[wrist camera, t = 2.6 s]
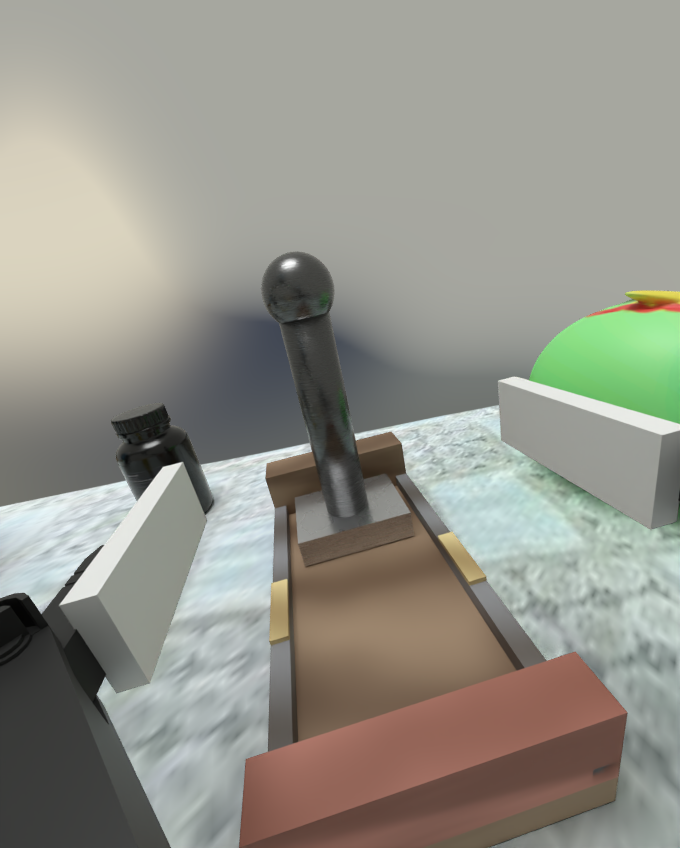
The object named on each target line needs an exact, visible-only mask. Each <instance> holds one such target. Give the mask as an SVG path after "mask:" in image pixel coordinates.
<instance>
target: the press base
mask: <svg viewBox="0 0 680 848" xmlns="http://www.w3.org/2000/svg"><path fill="white" fill-rule="evenodd" d="M356 445H357V450H358V455H359V460H360V465H361V470H362V474H363V479H367V478H371V477H374V476H378V475H382V474H387V476H388V477H389V479H390V480H391V482H392V484H393V485H394V487H395V488H396V490H397V492H398V493H399V495H400V496H401V498H402V499H403V501H404V503H405V504H406V506H407V507H408V509H409V511H410V512H411V518H412V524H413V531H414V536H411V537H408V538H404V539H401V540H397V541H394V542H390V543H387V544H383V545H380V546H376V547H373V548H369V549H366V550H362V551H359V552H355V553H351V554H348V555H344V556H341V557H337V558H334V559H330V560H327V561H323V562H320V563H316V564H313V565H309V566H306V567H305V565H304V562H303V558H302V555H301V552H300V548H299V545H298V536H297V522H296V508H295V497H299V496H303V495H307V494H310V493H314V492H318V491H322V488H321V484H320V481H319V477H318V473H317V469H316V465H315V461H314V457H313V453H312V452H310V453H306V454H302V455H298V456H294V457H290V458H286V459H282V460H278V461H274V462H271V463H267V467H266V478H265V479H266V482H267V485H268V488H269V491H270V494H271V498H272V501H273V504H274V507H275V524H274V558H273V583H271V609H270V639H269V642H270V644H271V662H270V697H269V732H268V752H266V753H263V754H260V755H257V756H254V757H251V758H248V759H246V764H245V777H244V790H243V803H242V816H241V829H240V842H239V848H488V847H491V846H493V845H496V844H499V843H501V842H504V841H507V840H509V839H512V838H515V837H518V836H520V835H523V834H526V833H528V832H531V831H534V830H537V829H539V828H542V827H545V826H547V825H550V824H553V823H556V822H558V821H561V820H564V819H566V818H569V817H572V816H574V815H577V814H580V813H583V812H585V811H588V810H591V809H593V808H596V807H599V806H602V805H604V804H607V803H610V802H612V801H615V797H616V790H617V783H618V776H619V769H620V762H621V754H622V747H623V740H624V733H625V726H626V719H627V712H626V710H625V709H624V708H623V707H622V706H621V705H620V703H619V702H618V701H617V700H616V699H615V697H614V696H613V695H612V694H611V693H610V692H609V690H608V689H607V688H606V687H605V686H604V685H603V683H602V682H601V681H600V680H599V679H598V678H597V676H596V675H595V674H594V673H593V672H592V671H591V669H590V668H589V667H588V666H587V665H586V663H585V662H584V661H583V660H582V659H581V658H580V656H579V655H578V654H577V653H576V652H573V653H570V654H567V655H564V656H560V657H557V658H554V659H551V660H548V661H546V659H545V658H544V657H543V655H542V654H541V653H540V651H539V650H538V649H537V647H536V646H535V645H534V643H533V642H532V641H531V639H530V638H529V637H528V635H527V634H526V633H525V631H524V630H523V629H522V627H521V626H520V625H519V623H518V622H517V621H516V619H515V618H514V617H513V615H512V614H511V613H510V611H509V610H508V609H507V607H506V606H505V605H504V603H503V602H502V601H501V599H500V598H499V597H498V595H497V594H496V593H495V591H494V590H493V589H492V587H491V586H490V585H489V583H488V582H487V581H486V576H485V574H484V573H483V572H482V570H481V569H480V568H479V566H478V565H477V564H476V562H475V561H474V560H473V558H472V557H471V556H470V555H469V553H468V552H467V551H466V549H465V548H464V547H463V545H462V544H461V543H460V541H459V540H458V539H457V537H456V536H455V535H454V533H453V532H450V531H449V530H448V529H447V527H446V526H445V525H444V523H443V522H442V521H441V519H440V518H439V517H438V515H437V514H436V513H435V511H434V510H433V509H432V507H431V506H430V505H429V503H428V502H427V501H426V499H425V498H424V497H423V495H422V494H421V493H420V491H419V490H418V489H417V487H416V486H415V485H414V483H413V482H412V481H411V479H410V478H409V477H408V475H407V474H406V470H405V463H404V457H403V450H402V444H401V442H400V441H399V440H398V439H397V438H396V437H395V435H394V434H393V433H392V432H388V433H384V434H380V435H376V436H372V437H368V438H364V439H360V440H357V441H356Z"/></svg>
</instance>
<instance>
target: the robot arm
mask: <svg viewBox="0 0 680 848" xmlns="http://www.w3.org/2000/svg"><path fill="white" fill-rule="evenodd" d="M498 390H499V408H500V426H501V441H503V442H505V443H507V444H508V445H510V446H512V447H513V448H515V449H517V450H518V451H520V452H522V453H523V454H525V455H527V456H528V457H530V458H532V459H533V460H535V461H537V462H538V463H540V464H542V465H543V466H545V467H547V468H548V469H550V470H552V471H553V472H555V473H557V474H558V475H560V476H562V477H563V478H565V479H567V480H568V481H570V482H572V483H573V484H575V485H577V486H578V487H580V488H582V489H583V490H585V491H587V492H588V493H590V494H592V495H594V496H595V497H597V498H599V499H600V500H602V501H604V502H605V503H607V504H609V505H610V506H612V507H614V508H615V509H617V510H619V511H620V512H622V513H624V514H625V515H627V516H629V517H630V518H632V519H634V520H635V521H637V522H639V523H640V524H642V525H644V526H645V527H647V528H649V529H650V530H651V529H655V528H658V527H661V526H665V525H668V524H671V523H674V522H676V521H677V515H678V508H679V501H680V424H678V423H674V422H671V421H667V420H664V419H660V418H657V417H654V416H650V415H647V414H643V413H640V412H636V411H633V410H629V409H626V408H622V407H619V406H615V405H612V404H609V403H605V402H602V401H598V400H595V399H591V398H588V397H584V396H581V395H577V394H574V393H570V392H567V391H564V390H560V389H557V388H553V387H550V386H546V385H543V384H539V383H536V382H532V381H529V380H525V379H522V378H518V377H511V378H507V379H503V380H500V381H498ZM206 522H207V519H206V517H205V514H204V512H203V509H202V507H201V505H200V502H199V500H198V497H197V495H196V492H195V490H194V488H193V485H192V483H191V480H190V478H189V475H188V473H187V471H186V468H185V466H184V463H183V462H180V463H177V464H173V465H169V466H165V467H163V468H162V469H161V470H160V472H159V473H158V474H157V476H156V477H155V478H154V480H153V481H152V482H151V484H150V485H149V486H148V488H147V489H146V490H145V492H144V493H143V494H142V496H141V497H140V498H139V500H138V501H137V502H136V504H135V505H134V506H133V508H132V509H131V510H130V512H129V513H128V514H127V516H126V517H125V518H124V520H123V521H122V522H121V524H120V525H119V526H118V528H117V529H116V530H115V532H114V533H113V534H112V536H111V537H110V538H109V540H108V541H107V542H106V544H105V545H101V546H100V547H99V548H98V549H96V550H95V551H94V552H93V553H92V554H91V555H89V556H88V557H87V558H86V559H85V560H84V561H83V562H82V564H81V565H80V566H79V567H78V569H77V570H76V571H75V572H74V575H73V576H71V578H70V579H69V580H68V581H67V583H66V584H65V587H63V588H62V589H61V590H60V591H59V593H58V594H57V595H56V597H55V598H54V599H53V600H52V602H51V603H50V604H49V605H48V607H47V608H46V609H45V611H44V612H43V613H42V614H41V613H40V612H39V610H38V609H37V607H36V606H35V604H34V603H33V602H32V600H31V599H30V597H29V596H28V595H26V594H25V593H16V594H11V595H8V596H6V597H3V598H0V848H171V847H170V845H169V843H168V840H167V838H166V836H165V834H164V832H163V830H162V828H161V826H160V824H159V821H158V819H157V817H156V815H155V813H154V811H153V809H152V807H151V804H150V802H149V800H148V798H147V796H146V794H145V792H144V790H143V788H142V785H141V783H140V781H139V779H138V777H137V775H136V773H135V771H134V769H133V766H132V764H131V762H130V760H129V758H128V756H127V754H126V752H125V749H124V747H123V745H122V743H121V741H120V739H119V737H118V735H117V733H116V730H115V728H114V726H113V724H112V722H111V720H110V718H109V716H108V713H107V711H106V709H105V707H104V705H103V703H102V702H101V700H100V699H99V697H98V696H97V695H96V694H97V692H98V690H99V688H100V686H101V684H102V682H103V680H104V678H105V677H106V678H107V680H108V681H109V683H110V684H111V686H112V687H113V689H114V690H115V692H116V693H119V692H122V691H126V690H129V689H132V688H135V687H139V686H142V685H145V684H149V683H150V681H151V678H152V675H153V672H154V670H155V667H156V664H157V661H158V658H159V655H160V653H161V650H162V647H163V644H164V641H165V638H166V636H167V633H168V630H169V627H170V624H171V621H172V619H173V616H174V613H175V610H176V607H177V604H178V601H179V599H180V596H181V593H182V590H183V587H184V584H185V582H186V579H187V576H188V573H189V570H190V567H191V565H192V562H193V559H194V556H195V553H196V550H197V548H198V545H199V542H200V539H201V536H202V533H203V531H204V528H205V525H206Z"/></svg>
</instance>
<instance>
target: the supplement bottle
mask: <svg viewBox="0 0 680 848" xmlns="http://www.w3.org/2000/svg"><path fill="white" fill-rule="evenodd" d="M170 421H171V418H170V416H169V415H168V413H167V411H166V409H165V406H164V404H163V403H154V404H149V405H145V406H141V407H138V408H135V409H132V410H129V411H127V412H124V413H122V414H119V415H118V416H116V417H114V418H113V419H112V420H111V423H112V425H113V427H114V429H115V431H116V435H117V437H118V438H119V439H122V441H123V443H122V444H121V445H120V446H119V448H118V449H117V452H116V460H117V463H118V465H119V467H120V469H121V471H122V473H123V475H124V477H125V479H126V481H127V483H128V485H129V487H130V489H131V491H132V493H133V495H134V497H135V499H136V501H138V500H139V498H140V497H141V496H142V494H143V493H144V492H145V490H146V489H147V488H148V486H149V485H150V484H151V482H152V481H153V480H154V478H155V477H156V476H157V474H158V473H159V472H160V470H161V469H162V468H163V467H165V466H169V465H173V464H177V463H180V462H183V463H184V466H185V468H186V471H187V473H188V475H189V478H190V480H191V483H192V485H193V488H194V490H195V492H196V495H197V497H198V500H199V502H200V505H201V507H202V509H203V512H204V513H205V512H206V511H207V510H208V509H209V507H210V506H211V504H212V500H213V496H212V493H211V490H210V488H209V485H208V482H207V480H206V478H205V475H204V473H203V470H202V468H201V465H200V463H199V460H198V458H197V456H196V453H195V451H194V448H193V446H192V443H191V441H190V438H189V436H188V434H187V433H186V431H185V430H183V429H182V428H180V427H177V426H173V425H170V423H169V422H170Z"/></svg>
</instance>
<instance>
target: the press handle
mask: <svg viewBox="0 0 680 848" xmlns="http://www.w3.org/2000/svg"><path fill="white" fill-rule="evenodd" d="M261 290H262V298H263V302H264V305H265V307H266V309H267V310H268V312H269V314H270V315H271V316H272V317H273V318H274V319H275V320H276V321H277V322H279V325H280V328H281V332H282V336H283V340H284V344H285V348H286V352H287V356H288V360H289V364H290V368H291V371H292V375H293V379H294V383H295V387H296V391H297V395H298V399H299V403H300V406H301V410H302V414H303V418H304V422H305V426H306V430H307V434H308V438H309V441H310V445H311V449H312V453H313V457H314V461H315V465H316V469H317V473H318V477H319V481H320V484H321V488H322V491H318V492H314V493H310V494H307V495H303V496H299V497H295V508H296V522H297V536H298V545H299V548H300V552H301V555H302V558H303V562H304V565H305V567H306V566H309V565H313V564H316V563H320V562H323V561H327V560H330V559H334V558H337V557H341V556H344V555H348V554H351V553H355V552H359V551H362V550H366V549H369V548H373V547H376V546H380V545H383V544H387V543H390V542H394V541H397V540H401V539H404V538H408V537H411V536H414V531H413V524H412V518H411V512H410V511H409V509H408V507H407V506H406V504H405V503H404V501H403V499H402V498H401V496H400V495H399V493H398V492H397V490H396V488H395V487H394V485H393V484H392V482H391V480H390V479H389V477H388V476H387V474H382V475H378V476H374V477H371V478H367V479H363V474H362V470H361V465H360V460H359V455H358V450H357V445H356V440H355V435H354V430H353V426H352V421H351V416H350V411H349V406H348V401H347V396H346V391H345V387H344V382H343V377H342V372H341V367H340V362H339V357H338V353H337V348H336V343H335V338H334V333H333V328H332V324H331V318H330V313H329V311H330V309H331V307H332V304H333V300H334V284H333V280H332V277H331V275H330V273H329V271H328V269H327V268H326V267H325V265H324V264H323V263H322V262H321V261H320V260H318V259H317V258H316V257H314V256H312V255H310V254H307V253H303V252H290V253H286V254H283V255H281V256H279V257H277V258H276V259H275V260H274V261H273V262H272V263H271V264H270V265H269V266H268V268H267V269H266V271H265V274H264V276H263V280H262V287H261Z"/></svg>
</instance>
